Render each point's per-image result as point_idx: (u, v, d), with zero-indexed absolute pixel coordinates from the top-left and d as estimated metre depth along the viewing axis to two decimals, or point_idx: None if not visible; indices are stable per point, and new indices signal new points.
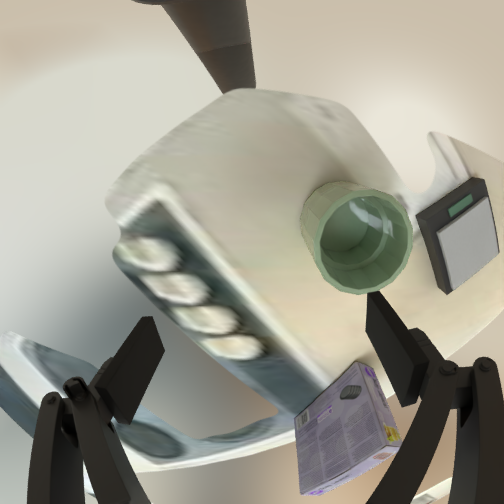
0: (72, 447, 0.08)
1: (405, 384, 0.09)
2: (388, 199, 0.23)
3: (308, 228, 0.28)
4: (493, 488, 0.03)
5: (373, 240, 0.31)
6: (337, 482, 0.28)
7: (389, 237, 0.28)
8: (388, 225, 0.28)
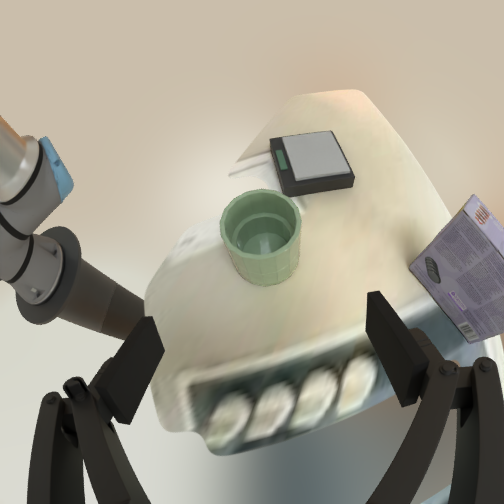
0: (72, 447, 0.08)
1: (405, 384, 0.09)
2: (235, 201, 0.37)
3: (243, 266, 0.36)
4: (493, 488, 0.03)
5: (282, 228, 0.42)
6: None
7: (277, 213, 0.40)
8: (269, 212, 0.41)
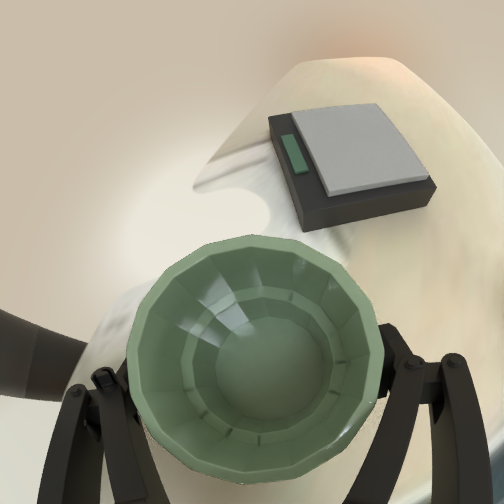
0: (93, 441, 0.08)
1: None
2: (171, 278, 0.12)
3: None
4: (476, 482, 0.03)
5: (307, 320, 0.17)
6: None
7: (296, 289, 0.15)
8: (274, 287, 0.16)
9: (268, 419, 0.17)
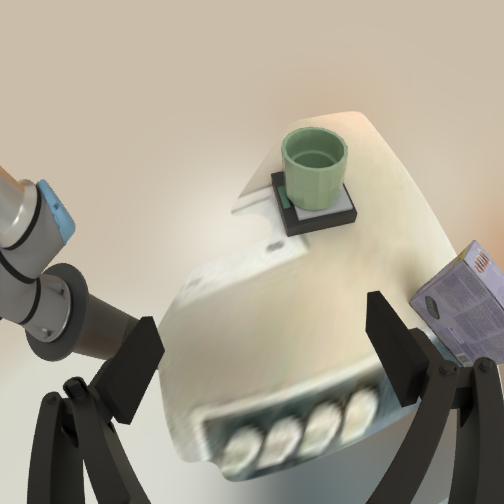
0: (72, 447, 0.08)
1: (405, 384, 0.09)
2: (291, 135, 0.42)
3: (302, 184, 0.41)
4: (493, 488, 0.03)
5: (326, 163, 0.47)
6: None
7: (322, 149, 0.45)
8: (315, 149, 0.46)
9: None
